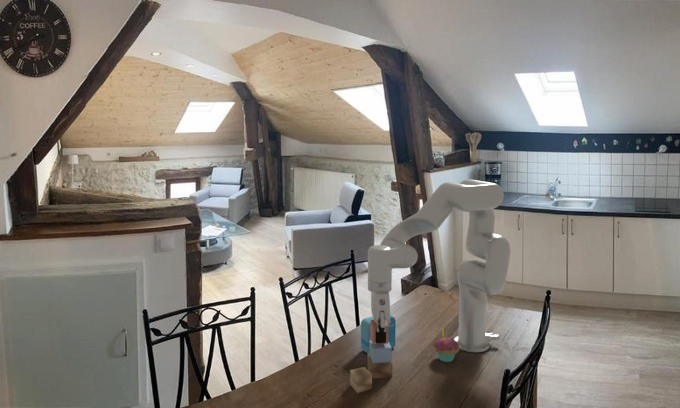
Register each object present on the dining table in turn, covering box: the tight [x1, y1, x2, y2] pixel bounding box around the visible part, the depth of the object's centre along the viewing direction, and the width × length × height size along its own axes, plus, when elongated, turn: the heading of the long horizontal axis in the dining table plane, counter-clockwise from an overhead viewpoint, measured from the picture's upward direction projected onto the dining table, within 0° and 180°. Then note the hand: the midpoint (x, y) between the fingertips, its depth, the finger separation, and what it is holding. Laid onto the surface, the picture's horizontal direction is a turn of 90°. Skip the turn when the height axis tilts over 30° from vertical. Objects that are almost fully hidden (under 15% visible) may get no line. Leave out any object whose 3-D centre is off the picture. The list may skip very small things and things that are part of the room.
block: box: [349, 366, 373, 394], centre depth 153 cm, size 5×5×5 cm
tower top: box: [369, 340, 393, 364], centre depth 160 cm, size 6×6×5 cm
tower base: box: [366, 353, 393, 379], centre depth 161 cm, size 7×7×5 cm
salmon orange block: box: [370, 319, 388, 344], centre depth 159 cm, size 5×5×6 cm
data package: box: [360, 314, 397, 354], centre depth 176 cm, size 12×4×12 cm, turn 120°
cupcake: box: [433, 327, 460, 363], centre depth 169 cm, size 9×8×12 cm
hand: (379, 338), depth 159 cm, fingers closed on salmon orange block, 5 cm apart
